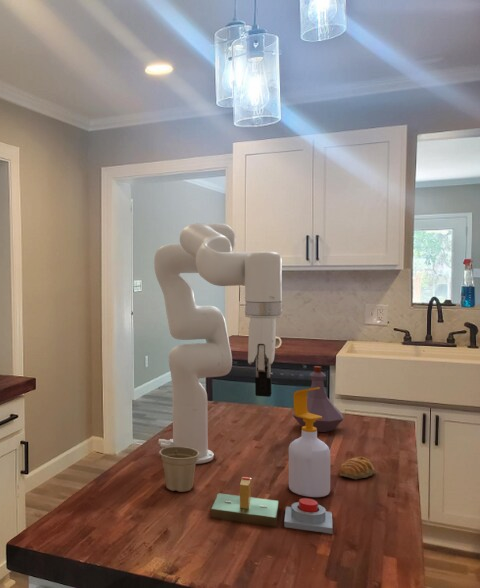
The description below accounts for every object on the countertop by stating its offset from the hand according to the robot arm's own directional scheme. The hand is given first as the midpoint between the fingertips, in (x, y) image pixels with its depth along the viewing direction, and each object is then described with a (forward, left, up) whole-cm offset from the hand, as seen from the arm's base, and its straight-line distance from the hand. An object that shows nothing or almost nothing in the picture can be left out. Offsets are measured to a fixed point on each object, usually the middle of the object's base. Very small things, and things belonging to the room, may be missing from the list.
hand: (263, 395), depth 124 cm
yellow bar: (-4, -3, -23) cm, 24 cm away
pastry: (+20, +30, -25) cm, 44 cm away
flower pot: (-20, +7, -25) cm, 33 cm away
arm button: (+9, -3, -22) cm, 24 cm away
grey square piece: (+9, -3, -25) cm, 27 cm away
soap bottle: (+9, +15, -25) cm, 31 cm away
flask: (+11, +72, -25) cm, 77 cm away
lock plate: (-3, -3, -25) cm, 26 cm away
